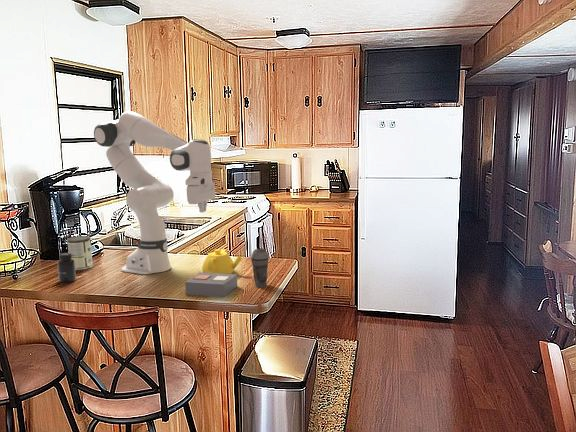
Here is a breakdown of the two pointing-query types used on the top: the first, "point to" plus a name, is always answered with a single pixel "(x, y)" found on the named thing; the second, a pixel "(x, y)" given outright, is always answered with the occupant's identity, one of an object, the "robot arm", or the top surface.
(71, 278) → the supplement bottle
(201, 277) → the terracotta key
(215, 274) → the key console
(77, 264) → the coffee can
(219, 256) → the teapot
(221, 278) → the white key
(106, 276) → the top surface
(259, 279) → the beverage cup
